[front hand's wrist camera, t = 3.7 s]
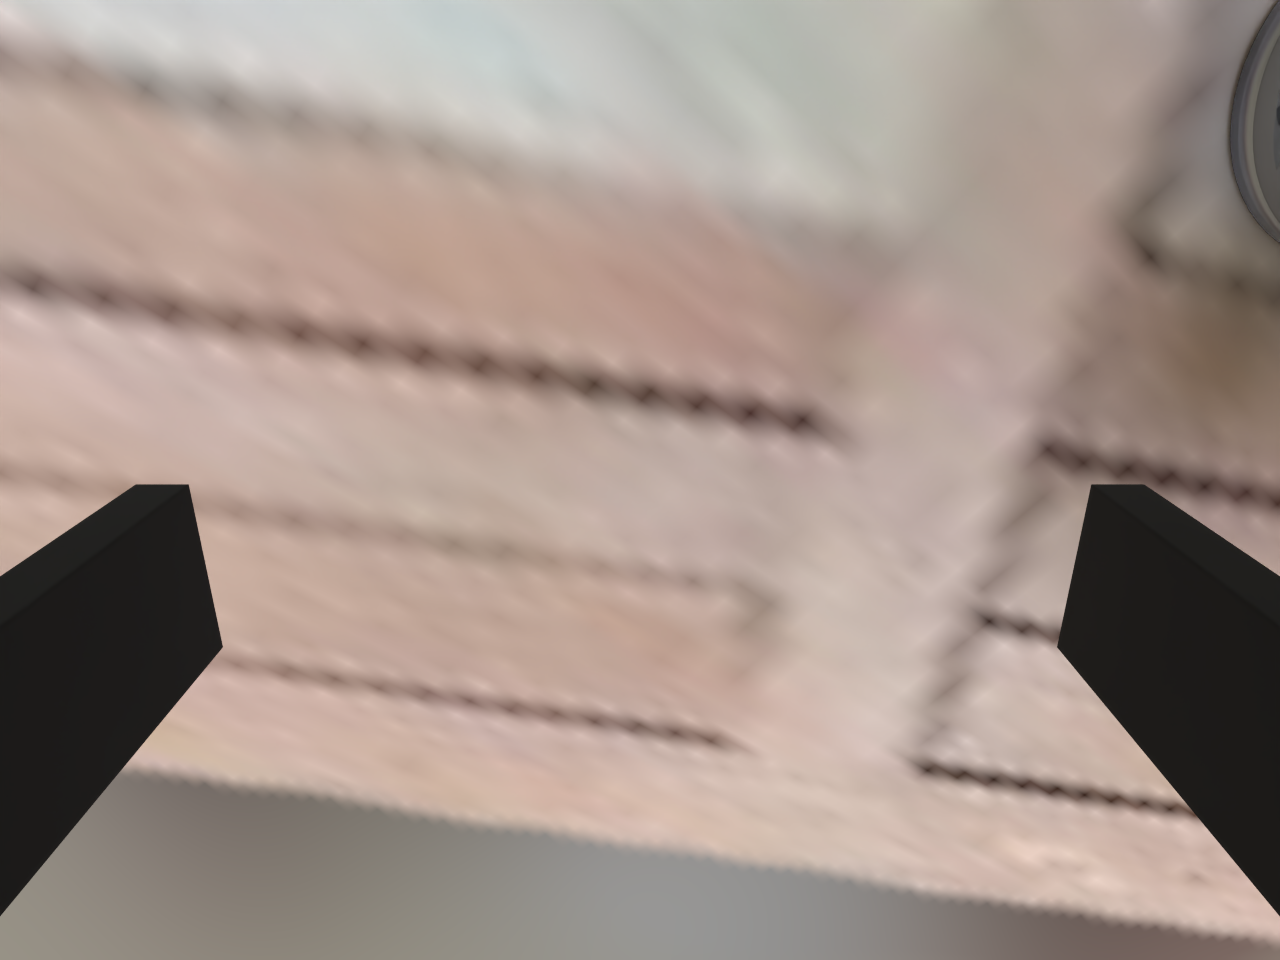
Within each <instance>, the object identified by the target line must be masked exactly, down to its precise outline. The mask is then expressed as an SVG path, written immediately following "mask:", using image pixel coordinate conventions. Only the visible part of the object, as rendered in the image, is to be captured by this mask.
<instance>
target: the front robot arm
mask: <svg viewBox="0 0 1280 960" xmlns="http://www.w3.org/2000/svg"><path fill="white" fill-rule="evenodd" d="M1230 137H1231V155H1232V162H1233V169H1234V173H1235V177H1236V181H1237V184H1238V187H1239V189H1240V192H1241V195H1242V197H1243V199H1244V201H1245V203H1246V205H1247V207H1248V209H1249V211H1250V212H1251V213H1252V215H1253V216H1254V218H1255V219H1256V221H1257V222H1258V223H1259V224H1260V225H1261V227H1262V228H1263V229H1264V230H1265V231H1266V232H1267V233H1268V234H1269V235H1270V236H1272V237H1273V238H1274V239H1275V240H1276V241H1277V242H1279V243H1280V0H1279V1H1278V2H1277V4H1276V5H1275V7H1274V8H1273V9H1272V11H1271V13H1270V14H1269V16H1268V18H1267V19H1266V21H1265V22H1264V24H1263V26H1262V27H1261V29H1260V31H1259V33H1258V35H1257V37H1256V39H1255V41H1254V43H1253V45H1252V47H1251V50H1250V52H1249V54H1248V57H1247V59H1246V61H1245V64H1244V67H1243V70H1242V73H1241V76H1240V79H1239V82H1238V86H1237V90H1236V94H1235V99H1234V104H1233V111H1232V117H1231V134H1230ZM222 648H223V646H222V641H221V636H220V631H219V627H218V622H217V617H216V612H215V608H214V603H213V598H212V593H211V589H210V584H209V579H208V574H207V570H206V565H205V560H204V555H203V551H202V546H201V541H200V536H199V532H198V527H197V522H196V517H195V513H194V508H193V503H192V498H191V494H190V489H189V485H134V486H133V487H132V488H130V489H129V490H127V491H126V492H124V493H123V494H121V495H120V496H118V497H117V498H115V499H114V500H112V501H111V502H109V503H108V504H106V505H105V506H103V507H102V508H101V509H99V510H98V511H96V512H95V513H93V514H92V515H90V516H89V517H87V518H86V519H84V520H83V521H81V522H80V523H78V524H77V525H75V526H74V527H72V528H71V529H70V530H68V531H67V532H65V533H64V534H62V535H61V536H59V537H58V538H56V539H55V540H53V541H52V542H50V543H49V544H47V545H46V546H44V547H43V548H41V549H40V550H39V551H37V552H36V553H34V554H33V555H31V556H30V557H28V558H27V559H25V560H24V561H22V562H21V563H19V564H18V565H16V566H15V567H13V568H12V569H10V570H9V571H8V572H6V573H5V574H3V575H2V576H0V916H1V914H2V913H3V912H4V911H5V910H6V908H7V907H8V906H9V905H10V904H11V902H12V901H13V900H14V899H15V898H16V896H17V895H18V894H19V893H20V892H21V890H22V889H23V888H24V887H25V886H26V884H27V883H28V882H29V881H30V880H31V878H32V877H33V876H34V875H35V873H36V872H37V871H38V870H39V869H40V867H41V866H42V865H43V864H44V863H45V861H46V860H47V859H48V858H49V857H50V855H51V854H52V853H53V852H54V851H55V849H56V848H57V847H58V846H59V844H60V843H61V842H62V841H63V840H64V838H65V837H66V836H67V835H68V834H69V832H70V831H71V830H72V829H73V828H74V826H75V825H76V824H77V823H78V822H79V820H80V819H81V818H82V817H83V815H84V814H85V813H86V812H87V811H88V809H89V808H90V807H91V806H92V805H93V803H94V802H95V801H96V800H97V798H98V797H99V796H100V795H101V794H102V793H103V791H104V790H105V789H106V788H107V786H108V785H109V784H110V783H111V782H112V780H113V779H114V778H115V777H116V776H117V774H118V773H119V772H120V771H121V770H122V768H123V767H124V766H125V765H126V764H127V762H128V761H129V760H130V759H131V757H132V756H133V755H134V754H135V753H136V751H137V750H138V749H139V748H140V747H141V745H142V744H143V743H144V742H145V741H146V739H147V738H148V737H149V736H150V735H151V733H152V732H153V731H154V730H155V728H156V727H157V726H158V725H159V724H160V722H161V721H162V720H163V719H164V718H165V716H166V715H167V714H168V713H169V712H170V710H171V709H172V708H173V707H174V706H175V704H176V703H177V702H178V701H179V699H180V698H181V697H182V696H183V695H184V693H185V692H186V691H187V690H188V689H189V687H190V686H191V685H192V684H193V683H194V681H195V680H196V679H197V678H198V677H199V675H200V674H201V673H202V672H203V670H204V669H205V668H206V667H207V666H208V664H209V663H210V662H211V661H212V660H213V658H214V657H215V656H216V655H217V654H218V652H219V651H220V650H221V649H222ZM1057 648H1058V649H1059V650H1060V651H1061V652H1062V654H1063V655H1064V656H1065V657H1066V658H1067V660H1068V661H1069V662H1070V663H1071V664H1072V666H1073V667H1074V668H1075V669H1076V670H1077V672H1078V673H1079V674H1080V675H1081V677H1082V678H1083V679H1084V680H1085V681H1086V683H1087V684H1088V685H1089V686H1090V687H1091V689H1092V690H1093V691H1094V692H1095V693H1096V695H1097V696H1098V697H1099V698H1100V699H1101V701H1102V702H1103V703H1104V704H1105V706H1106V707H1107V708H1108V709H1109V710H1110V712H1111V713H1112V714H1113V715H1114V716H1115V718H1116V719H1117V720H1118V721H1119V722H1120V724H1121V725H1122V726H1123V727H1124V728H1125V730H1126V731H1127V732H1128V733H1129V735H1130V736H1131V737H1132V738H1133V739H1134V741H1135V742H1136V743H1137V744H1138V745H1139V747H1140V748H1141V749H1142V750H1143V751H1144V753H1145V754H1146V755H1147V756H1148V757H1149V759H1150V760H1151V761H1152V762H1153V764H1154V765H1155V766H1156V767H1157V768H1158V770H1159V771H1160V772H1161V773H1162V774H1163V776H1164V777H1165V778H1166V779H1167V780H1168V782H1169V783H1170V784H1171V785H1172V786H1173V788H1174V789H1175V790H1176V791H1177V793H1178V794H1179V795H1180V796H1181V797H1182V799H1183V800H1184V801H1185V802H1186V803H1187V805H1188V806H1189V807H1190V808H1191V809H1192V811H1193V812H1194V813H1195V814H1196V815H1197V817H1198V818H1199V819H1200V820H1201V822H1202V823H1203V824H1204V825H1205V826H1206V828H1207V829H1208V830H1209V831H1210V832H1211V834H1212V835H1213V836H1214V837H1215V838H1216V840H1217V841H1218V842H1219V843H1220V844H1221V846H1222V847H1223V848H1224V849H1225V851H1226V852H1227V853H1228V854H1229V855H1230V857H1231V858H1232V859H1233V860H1234V861H1235V863H1236V864H1237V865H1238V866H1239V867H1240V869H1241V870H1242V871H1243V872H1244V873H1245V875H1246V876H1247V877H1248V878H1249V880H1250V881H1251V882H1252V883H1253V884H1254V886H1255V887H1256V888H1257V889H1258V890H1259V892H1260V893H1261V894H1262V895H1263V896H1264V898H1265V899H1266V900H1267V901H1268V902H1269V904H1270V905H1271V906H1272V907H1273V909H1274V910H1275V911H1276V912H1277V913H1278V915H1279V916H1280V576H1278V575H1277V574H1275V573H1274V572H1272V571H1271V570H1270V569H1268V568H1267V567H1265V566H1264V565H1262V564H1261V563H1259V562H1258V561H1256V560H1255V559H1253V558H1252V557H1250V556H1249V555H1247V554H1246V553H1244V552H1243V551H1241V550H1240V549H1239V548H1237V547H1236V546H1234V545H1233V544H1231V543H1230V542H1228V541H1227V540H1225V539H1224V538H1222V537H1221V536H1219V535H1218V534H1216V533H1215V532H1213V531H1212V530H1210V529H1209V528H1208V527H1206V526H1205V525H1203V524H1202V523H1200V522H1199V521H1197V520H1196V519H1194V518H1193V517H1191V516H1190V515H1188V514H1187V513H1185V512H1184V511H1182V510H1181V509H1179V508H1178V507H1177V506H1175V505H1174V504H1172V503H1171V502H1169V501H1168V500H1166V499H1165V498H1163V497H1162V496H1160V495H1159V494H1157V493H1156V492H1154V491H1153V490H1151V489H1150V488H1148V487H1147V486H1146V485H1091V489H1090V494H1089V498H1088V503H1087V508H1086V513H1085V517H1084V522H1083V527H1082V532H1081V536H1080V541H1079V546H1078V551H1077V555H1076V560H1075V565H1074V570H1073V574H1072V579H1071V584H1070V589H1069V593H1068V598H1067V603H1066V608H1065V612H1064V617H1063V622H1062V627H1061V631H1060V636H1059V641H1058V646H1057Z"/></svg>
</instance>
